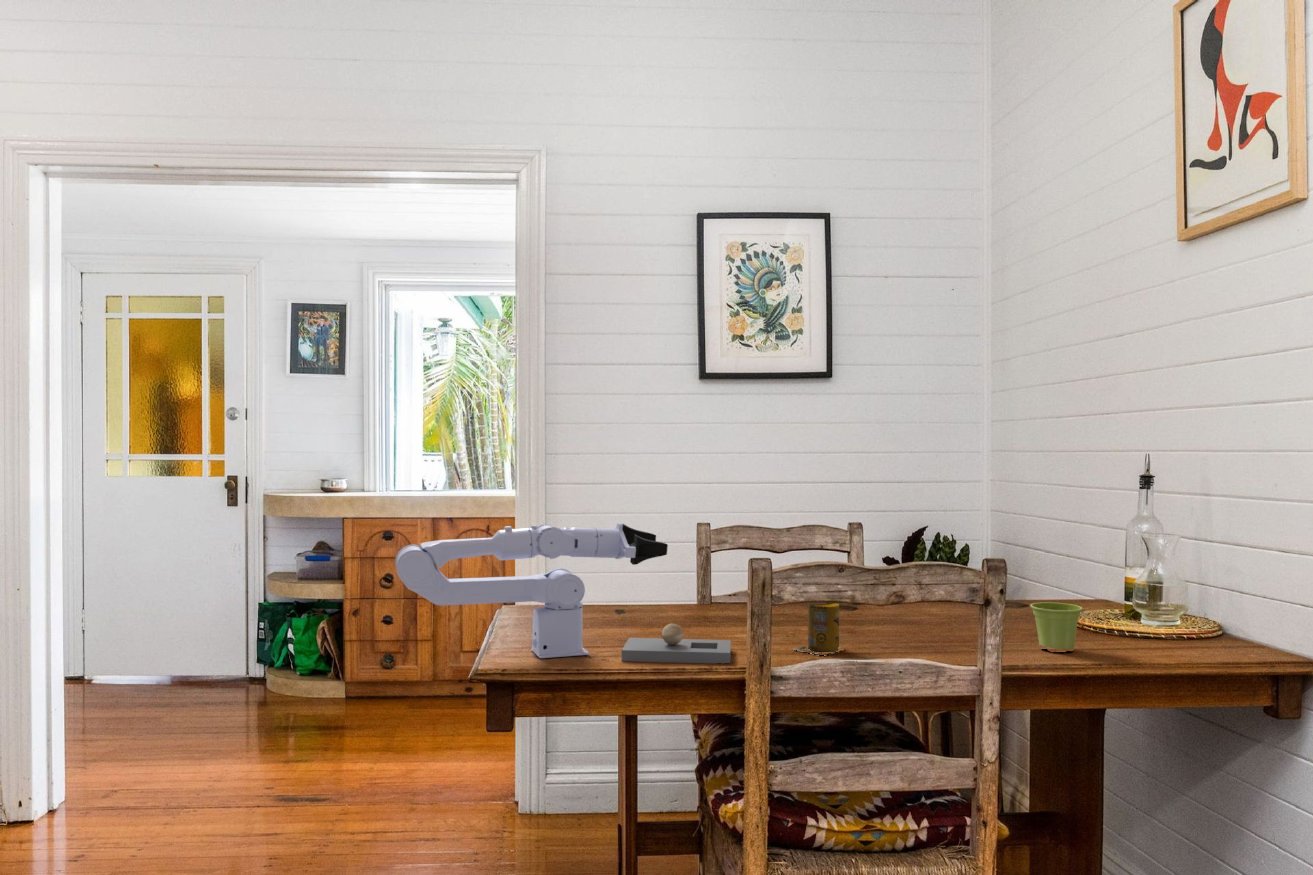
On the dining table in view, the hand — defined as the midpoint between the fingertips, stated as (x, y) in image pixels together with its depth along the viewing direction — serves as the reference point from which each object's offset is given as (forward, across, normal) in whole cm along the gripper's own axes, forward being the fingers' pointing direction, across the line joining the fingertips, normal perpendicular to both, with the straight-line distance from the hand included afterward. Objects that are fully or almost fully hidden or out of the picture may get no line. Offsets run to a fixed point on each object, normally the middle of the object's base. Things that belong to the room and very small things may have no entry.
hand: (660, 544), depth 179 cm
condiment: (+30, -15, +17) cm, 37 cm away
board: (+2, -11, +19) cm, 22 cm away
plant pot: (+74, -28, +13) cm, 80 cm away
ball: (+1, -10, +15) cm, 18 cm away
